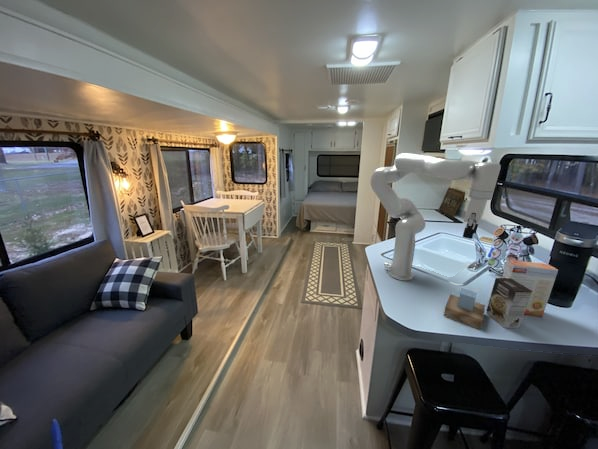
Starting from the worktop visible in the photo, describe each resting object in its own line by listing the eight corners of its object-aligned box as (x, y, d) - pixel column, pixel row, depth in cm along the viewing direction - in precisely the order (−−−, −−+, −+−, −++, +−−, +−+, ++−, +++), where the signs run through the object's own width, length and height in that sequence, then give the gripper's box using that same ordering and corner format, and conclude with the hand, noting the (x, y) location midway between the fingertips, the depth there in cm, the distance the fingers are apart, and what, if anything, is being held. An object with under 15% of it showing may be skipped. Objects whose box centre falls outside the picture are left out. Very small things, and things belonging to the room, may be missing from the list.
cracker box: (533, 308, 99) (549, 263, 93) (542, 317, 94) (560, 270, 88) (494, 302, 103) (506, 258, 97) (501, 310, 98) (514, 265, 92)
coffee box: (484, 312, 96) (494, 277, 92) (500, 312, 96) (511, 277, 92) (503, 328, 88) (515, 290, 83) (520, 328, 88) (533, 290, 83)
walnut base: (443, 315, 94) (445, 307, 93) (448, 301, 103) (450, 294, 102) (480, 329, 87) (483, 320, 86) (482, 313, 96) (485, 305, 95)
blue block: (456, 306, 94) (460, 293, 92) (458, 300, 97) (461, 287, 96) (472, 311, 91) (475, 298, 89) (473, 305, 94) (476, 292, 92)
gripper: (472, 190, 101) (462, 228, 107) (465, 195, 89) (454, 237, 95) (494, 193, 97) (482, 232, 102) (490, 199, 85) (477, 243, 90)
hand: (469, 235), depth 98 cm, fingers open, 9 cm apart
